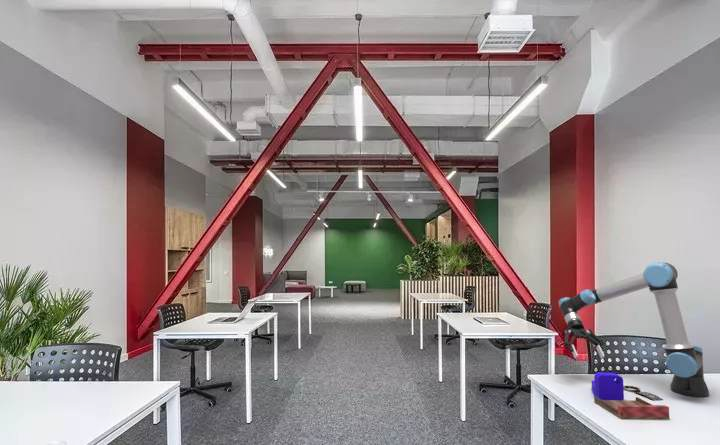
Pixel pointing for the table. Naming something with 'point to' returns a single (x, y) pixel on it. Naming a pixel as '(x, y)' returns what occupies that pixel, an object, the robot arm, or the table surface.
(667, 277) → the robot arm
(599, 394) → the bracket
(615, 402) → the walnut stop track
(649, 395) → the keychain
